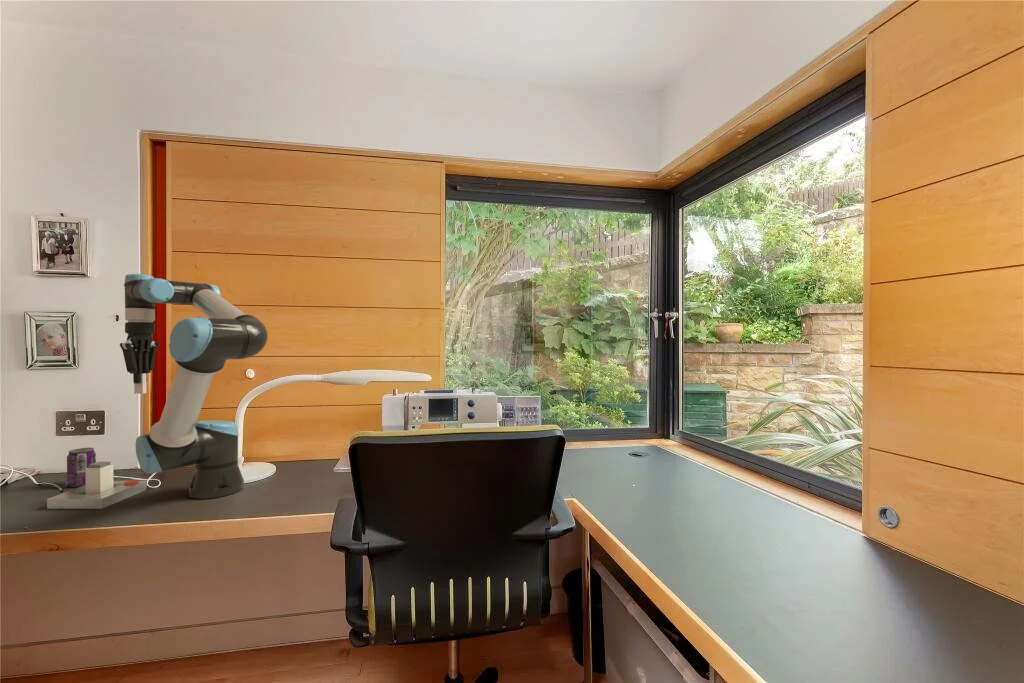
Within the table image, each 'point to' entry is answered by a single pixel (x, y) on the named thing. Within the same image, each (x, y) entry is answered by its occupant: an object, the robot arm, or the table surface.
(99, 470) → the plug
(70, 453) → the beverage can
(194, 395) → the robot arm
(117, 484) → the socket block
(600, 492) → the table surface
